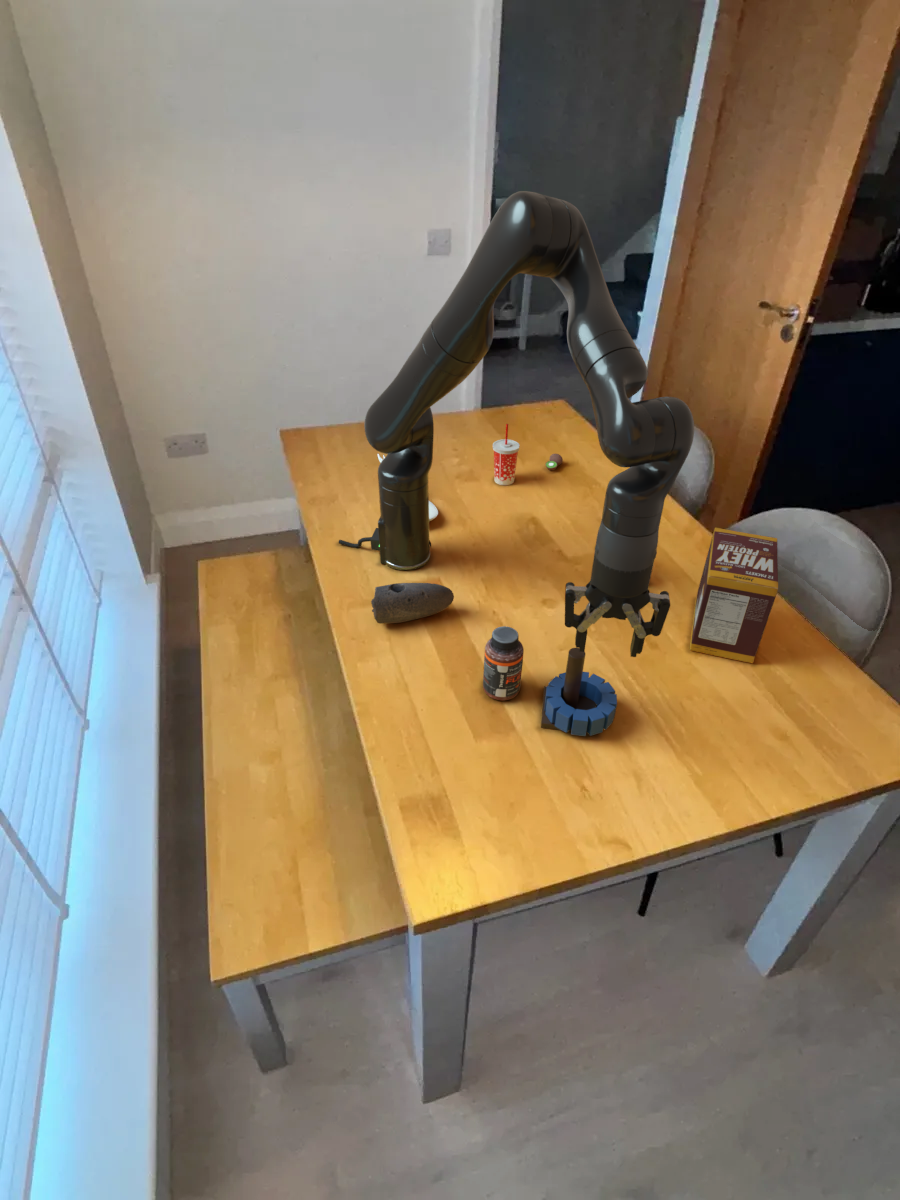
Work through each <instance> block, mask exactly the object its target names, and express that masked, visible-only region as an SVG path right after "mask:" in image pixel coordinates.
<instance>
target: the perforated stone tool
mask: <svg viewBox="0 0 900 1200" xmlns="http://www.w3.org/2000/svg"><path fill="white" fill-rule="evenodd" d="M454 598H455V596H454V592H453V591H452V589H450V588H449V587H447V586H444V585H442V584H438V583H431V582H398V583H391V584H385V585H380V586H375V589H374V596H373V598H372V599H371V601H370V602H371V607H372V609H371V613H373V618H374V620H375V622H376V623H377V624H401V623H405V622H409V621H413V620H420V619H423V618H426V617H429V616H433V615H435V614H438V613H441V612H442V611H444V610H446V609H447V608H449V606H451V605H452V604H453V602H454V600H455V599H454Z"/></svg>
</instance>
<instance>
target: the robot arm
mask: <svg viewBox="0 0 900 1200" xmlns="http://www.w3.org/2000/svg"><path fill="white" fill-rule="evenodd" d="M593 243H594V242H593V239H592V236H591V234H590V231H589V228H588V226H587V223H586V222H585V219H584V217H583V215H582V213H581V211H580V210H579V209H578V207H576V206H575V205H574V204H572V202H569V201H567V200H564V199H561V198H557V197H553V196H549V195H546V194H541V193H539V192H535V191H529V190H520V191H517V192H514V193H512V194H511V195H509V196H508V197H507V198H506V199H505V200H504V201H503V203H502V204H501V205H500V206H499V208H498V209H497V211H496V213H495V214H494V216H493V217H492V219H491V220H490V223H489V224H488V227H487V229H486V230H485V232H484V234H483V236H482V238H481V240H480V242H479V244H478V246H477V248H476V249H475V252H474V254H473V255H472V257H471V259H470V261H469V263H468V264H467V266H466V269H465V270H464V272H463V274H462V276H461V277H460V279H459V280H458V281H457V284H456V285H455V287H454V288H453V290H452V291H451V293H450V295H449V296H448V298H447V299H446V301H445V302H444V303H443V305H442V306H441V308H440V309H439V310H438V312H437V313H436V314H435V316H434V317H433V319H432V320H431V322H430V324H428V327H427V328H426V329H425V330H424V332H423V334H422V336H421V337H420V339H419V340H418V342H417V344H416V346H415V347H414V349H413V350H412V352H411V353H410V354H409V356H408V357H407V359H406V361H404V364H403V365H402V367H401V368H400V370H399V371H398V373H397V375H396V376H395V377H394V379H393V380H392V381H391V382H390V384H389V385H388V386H387V387H386V388H385V390H384V391H383V392H382V393H381V394H380V395H379V396H378V397H377V398H376V399H375V400H374V402H373V403H372V404H371V405H370V406H369V408H368V410H367V411H366V414H365V418H364V426H363V427H364V434H365V438H366V440H367V442H368V444H369V445H370V446H371V448H372V449H374V450H375V451H376V452H378V453H381V454H385V455H386V456H385V458H384V459H383V458H382V459H383V461H382V462H381V463H380V462H379V465H378V467H377V480H378V481H377V482H378V498H379V509H380V510H379V512H380V516H379V518H378V520H377V527H375V529H374V531H373V533H372V536H367V537H366V536H365V537H362V538H359V539H358V541H357V543H352V542H349V541H346V540H343V539H338V544H340V545H343V546H346V547H348V548H352V549H353V548H354V549H358V548H361V547H362V545H363V543H366V542H370V550H371V551H379V559H380V564H383V565H386V566H388V567H389V568H391V569H393V570H397V571H398V570H399V571H413V570H416V569H417V570H418V569H419V568H422V567H424V566H426V565H427V564H428V563H429V561H430V560H431V548H432V542H431V540H430V521H429V501H430V500H429V499H430V497H429V495H430V494H429V492H430V491H429V473H430V470H431V469H432V466H433V460H434V459H433V458H434V456H433V455H434V435H435V433H434V431H435V429H434V428H435V426H434V425H435V424H434V415H433V412H432V411H433V410H432V409H431V407H433V406H434V405H435V404H436V403H438V402H439V401H440V400H442V399H443V398H444V397H446V396H447V395H449V394H450V393H451V392H452V391H453V390H455V389H456V388H457V387H458V386H459V385H460V384H462V383H463V382H464V381H465V380H466V379H467V378H468V377H469V376H470V375H471V373H472V372H473V371H474V370H475V369H476V368H477V366H478V365H479V364H480V363H481V361H482V360H483V358H484V357H486V355H487V353H488V352H489V351H490V348H491V346H492V343H493V341H494V340H493V339H494V334H495V333H494V332H495V310H494V309H495V303H496V302H497V299H498V297H499V296H500V294H501V293H502V291H503V290H504V288H505V287H506V286H507V284H508V283H509V282H510V281H511V280H512V279H513V278H515V276H516V275H518V274H524V275H530V276H535V277H541V278H549V279H550V280H551V281H552V282H553V283H554V284H555V285H556V287H557V288H558V289H559V291H560V293H562V295H563V296H564V299H565V301H566V303H567V307H568V309H567V310H568V314H567V315H568V317H567V324H566V340H567V346H568V351H569V353H570V356H571V358H572V361H573V363H574V365H575V367H576V369H577V371H578V373H579V375H580V377H581V379H582V380H583V382H584V385H585V386H586V388H587V390H588V392H589V397H590V399H591V404H592V410H593V414H594V421H595V426H596V433H597V439H598V443H599V447H600V450H601V451H602V453H603V455H604V456H605V457H606V458H607V459H608V460H609V461H610V462H611V463H612V464H614V465H616V466H617V467H620V468H627V469H625V470H623V471H621V472H619V473H617V474H615V475H614V476H613V477H612V478H611V479H609V481H608V483H607V486H606V490H605V493H604V494H605V495H604V502H603V507H602V515H601V521H600V524H599V527H598V531H597V534H596V539H595V540H596V541H595V546H594V553H593V561H592V567H591V572H590V573H591V574H590V580H589V581H588V583H587V584H586V585H585V586H581V585H578V586H577V585H575V583H574V582H571V581H568V582H567V583H566V584H565V592H564V627H566V628H575V629H576V631H575V636H574V637H575V638H574V639H575V640H574V645H575V648H579V651H581V652H584V651H585V652H586V644H587V637H588V629H589V628H590V627H591V626H592V625H595V624H596V623H597V622H598V621H599V620H600V619H601V617H602V619H617V620H621V621H626V619H627V620H628V623H629V624H630V626H631V629H633V632H632V636H631V642H630V645H629V653H630V654H629V655H630V657H632V658H637V655H641V653H642V652H643V648H644V644H645V639H646V637H647V636H653V637H659V636H660V635H661V633H662V630H663V628H664V625H665V622H666V619H667V617H668V614H669V611H670V609H671V599H670V593H669V592H668V591H667V590H662V591H660V592H659V593H655V592H650V589H649V586H650V583H651V582H650V581H651V578H652V572H653V568H654V563H655V559H656V558H657V554H658V552H657V551H658V545H659V530H660V525H661V520H662V516H663V509H664V505H665V500H666V498H667V495H668V494H669V492H670V491H671V489H672V487H673V485H674V484H675V482H676V479H677V478H678V476H679V474H680V472H681V470H682V468H683V466H684V464H685V462H686V460H687V458H688V456H689V454H690V451H691V449H692V446H693V442H694V436H695V421H694V416H693V413H692V411H691V409H690V407H689V405H688V404H687V403H686V402H685V401H684V400H682V399H681V398H679V397H675V396H661V397H656V398H650V399H645V400H639V401H633V402H632V400H631V399H630V398H633V397H634V396H635V395H636V394H638V393H639V391H641V389H642V388H643V387H644V386H645V385H646V384H645V383H646V382H647V380H648V375H649V372H648V366H647V364H646V362H645V359H644V357H643V356H642V354H641V352H640V351H639V349H638V347H637V345H636V343H635V341H634V339H633V338H632V336H631V334H630V332H629V331H628V329H627V327H626V326H625V324H624V322H623V320H622V318H621V316H620V314H619V312H618V310H617V308H616V306H615V304H614V301H613V298H612V296H611V294H610V291H609V288H608V286H607V282H606V280H605V276H604V273H603V270H602V267H601V264H600V262H599V259H598V256H597V253H596V250H595V248H594V244H593ZM582 597H585V599H586V600H587V601H588V603H587V604H586V606H585V608H584V609H583V611H581V613H580V614H577V613H575V604H578V603H579V602H580V601H581V599H582ZM649 603H650V604H651V607H652V609H653V613H652V615H651V618H650V620H649V621H645V620H644V618H643V616H642V613H641V610H642V609H644V608H645V606H647V605H649Z"/></svg>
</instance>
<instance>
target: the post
mask: <svg viewBox="0 0 900 1200" xmlns="http://www.w3.org/2000/svg"><path fill="white" fill-rule="evenodd" d="M567 654H568V655H567V660H566V669H565V672H566V675H565V682H564V689H563V697H562V699H563V700H564V702H565V703H566V704H567V705H569V706H571V707H573V708H575V709H580V710H589V709H593V708H596V707H597V705H596V703H595V702H594V701H593V700H591V699H589V698H587V697H585V696H579V693H580V686H581V680H582V674H583V672H584V667H585V660H586V650H585V651H584V652H581V651H579V648H578V647H571V648H570V649H569V650H568V653H567ZM547 686H548V685H544V687H543V693H542V707H541V718H540V728H541V729H548V730H559V731H561V730H560V729H559V728H557V727H555V723H551V722H550V720H549V719H548V717H547V716H546V714H545V712H546V711H544V708H545V697H546V689H547ZM568 732H571V729H570V730H569V731H568ZM586 734H588V732H587V731H586Z"/></svg>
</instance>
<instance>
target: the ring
mask: <svg viewBox="0 0 900 1200" xmlns="http://www.w3.org/2000/svg"><path fill="white" fill-rule="evenodd" d="M565 675H566V671H565V672H562V673H559V674H558V676H557V675H555V676H554V677H553V678H552V679H551V680H550V681H549V682H548V684H547V685H546V686H547V689H546V697H545V708H544V711H546V712H545V714H546V716H547V717H548V719H549V720H550V722H551V723H555V727H557V728H559V729H560V730H559V731H562V732H564V733H566V734H567V733H569V732H570V735H572V736H580V737H586V736H587V735H588V736H589V737H591V736H594V735H595V736H596V735H597V734H598V735H599V734H601V733H604V732H603V731H604V730H605V731H606V730H608V729H609V727H610V726H611V725H612V724H613V722H614V719H615V717H616V712H617V707H618V694H617V693H616V690H615V688H614V687H613V686H612V684H611V683H610V682H609V681H606V679H605V678H603V677H601V676H599V675H597V674H595V673H592V674H591V675H590V672H589V671H583V674H582V680H581V686H580V693H579V696H585V697H587V698H589V699H591V700H593V701H594V702H595V703H596V708H593V709H589V710H580V709H575V708H573V707H571V706H569V705H567V704H566V703H565V702H564V700H563V699H562V697H563V689H564V682H565ZM605 681H606V682H605ZM570 729H571V731H569V730H570ZM586 731H587V732H588V733H586Z"/></svg>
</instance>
